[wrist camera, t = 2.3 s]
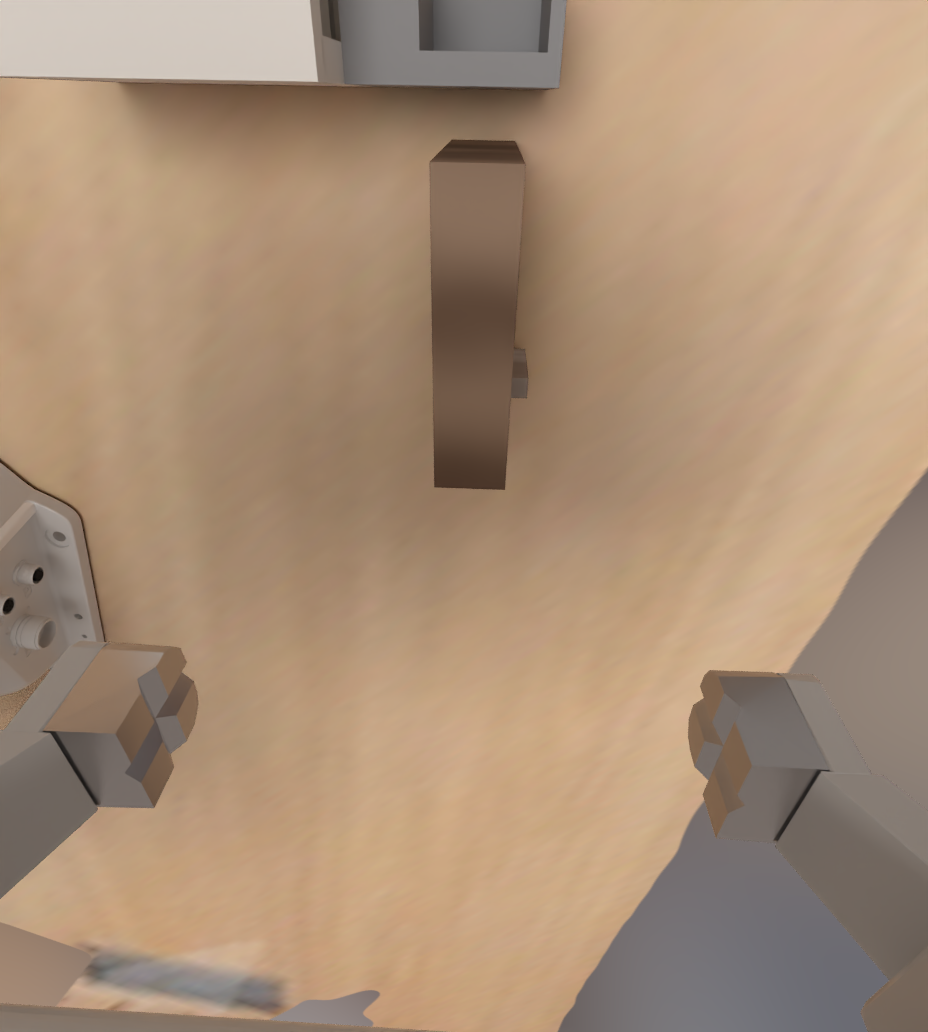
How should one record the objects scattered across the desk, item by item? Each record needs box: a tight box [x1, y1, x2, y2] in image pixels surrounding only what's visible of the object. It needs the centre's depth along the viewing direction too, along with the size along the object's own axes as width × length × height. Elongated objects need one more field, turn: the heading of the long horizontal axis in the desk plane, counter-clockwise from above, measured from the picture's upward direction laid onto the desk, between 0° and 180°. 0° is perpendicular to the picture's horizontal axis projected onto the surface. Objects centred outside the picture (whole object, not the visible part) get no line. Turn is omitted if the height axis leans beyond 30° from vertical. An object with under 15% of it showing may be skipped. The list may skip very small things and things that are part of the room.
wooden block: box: [430, 140, 528, 490], centre depth 27 cm, size 12×4×12 cm, turn 179°
